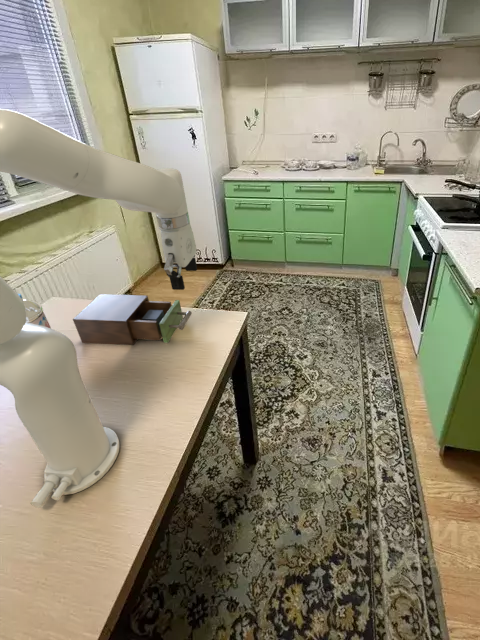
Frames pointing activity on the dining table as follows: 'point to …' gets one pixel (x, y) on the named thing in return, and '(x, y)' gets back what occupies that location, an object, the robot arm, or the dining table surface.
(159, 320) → the block
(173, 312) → the drawer
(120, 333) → the cabinet
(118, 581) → the dining table surface
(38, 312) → the water bottle
